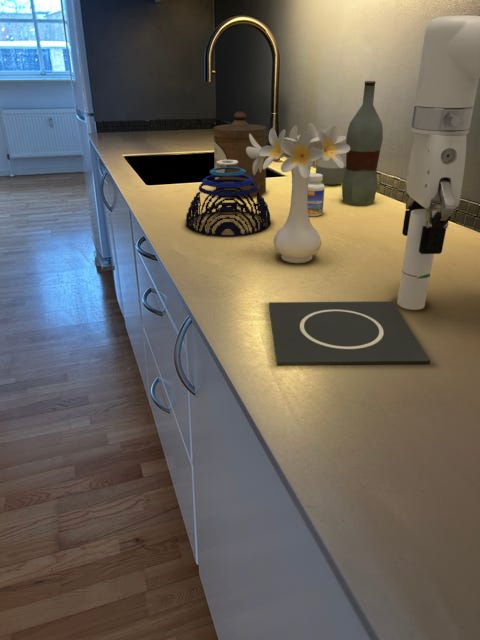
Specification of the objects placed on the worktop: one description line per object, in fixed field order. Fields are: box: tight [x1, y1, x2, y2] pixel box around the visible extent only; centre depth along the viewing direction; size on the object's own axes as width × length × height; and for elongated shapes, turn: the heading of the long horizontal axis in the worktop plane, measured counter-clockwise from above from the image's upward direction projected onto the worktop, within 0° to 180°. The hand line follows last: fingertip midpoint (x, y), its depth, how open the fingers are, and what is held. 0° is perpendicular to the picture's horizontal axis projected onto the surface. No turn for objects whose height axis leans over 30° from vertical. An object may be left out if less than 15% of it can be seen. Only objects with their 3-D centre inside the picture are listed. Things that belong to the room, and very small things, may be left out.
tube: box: [396, 209, 439, 311], centre depth 79 cm, size 4×4×15 cm
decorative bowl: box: [185, 160, 272, 238], centre depth 119 cm, size 20×20×14 cm
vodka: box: [341, 80, 384, 207], centre depth 133 cm, size 9×9×30 cm
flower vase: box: [246, 122, 350, 264], centre depth 95 cm, size 13×18×25 cm
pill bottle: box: [308, 172, 326, 217], centre depth 127 cm, size 5×5×10 cm
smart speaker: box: [315, 135, 347, 187], centre depth 156 cm, size 10×9×14 cm
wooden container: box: [213, 111, 267, 199], centre depth 145 cm, size 15×15×22 cm
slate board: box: [268, 301, 431, 366], centre depth 75 cm, size 20×18×1 cm
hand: (420, 243), depth 78 cm, fingers open, 7 cm apart
